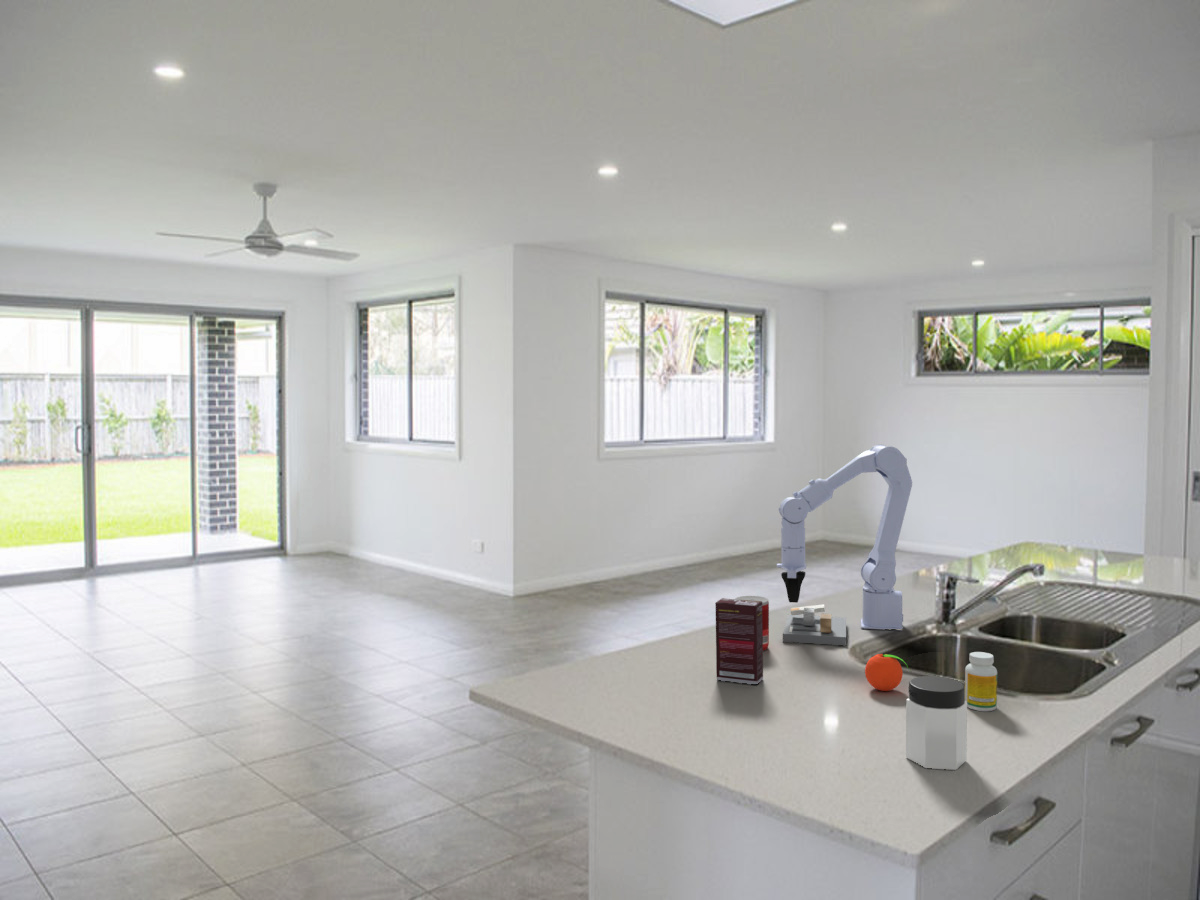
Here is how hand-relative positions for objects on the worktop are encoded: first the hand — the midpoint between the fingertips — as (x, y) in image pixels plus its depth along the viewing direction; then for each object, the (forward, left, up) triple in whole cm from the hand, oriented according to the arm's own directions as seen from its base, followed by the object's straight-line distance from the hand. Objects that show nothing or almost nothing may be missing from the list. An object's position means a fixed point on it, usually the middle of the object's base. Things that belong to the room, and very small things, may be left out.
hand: (793, 601), depth 224 cm
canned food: (+8, +22, -6) cm, 24 cm away
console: (-5, +6, -6) cm, 10 cm away
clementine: (-20, +46, -6) cm, 50 cm away
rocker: (-3, 0, -2) cm, 4 cm away
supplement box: (+8, +46, -6) cm, 47 cm away
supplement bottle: (-36, +52, -6) cm, 63 cm away
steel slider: (-4, +6, -4) cm, 8 cm away
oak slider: (-8, +12, -4) cm, 14 cm away
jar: (-26, +79, -6) cm, 83 cm away
